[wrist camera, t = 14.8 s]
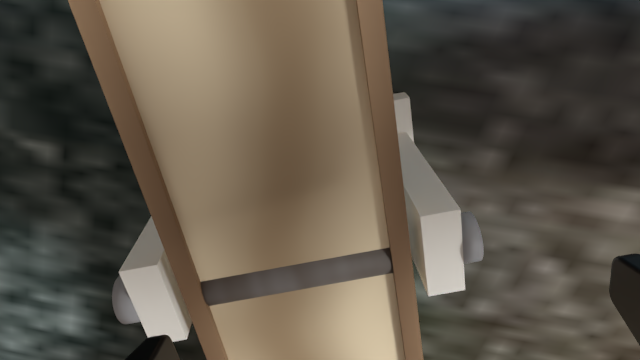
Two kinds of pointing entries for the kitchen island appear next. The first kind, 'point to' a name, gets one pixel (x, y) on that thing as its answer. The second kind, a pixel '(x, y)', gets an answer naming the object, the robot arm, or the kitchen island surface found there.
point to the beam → (267, 168)
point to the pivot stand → (424, 232)
